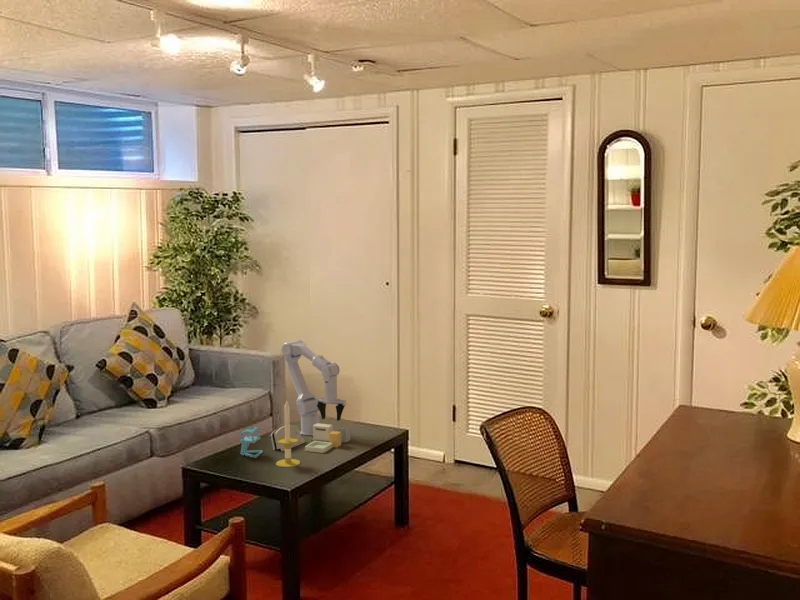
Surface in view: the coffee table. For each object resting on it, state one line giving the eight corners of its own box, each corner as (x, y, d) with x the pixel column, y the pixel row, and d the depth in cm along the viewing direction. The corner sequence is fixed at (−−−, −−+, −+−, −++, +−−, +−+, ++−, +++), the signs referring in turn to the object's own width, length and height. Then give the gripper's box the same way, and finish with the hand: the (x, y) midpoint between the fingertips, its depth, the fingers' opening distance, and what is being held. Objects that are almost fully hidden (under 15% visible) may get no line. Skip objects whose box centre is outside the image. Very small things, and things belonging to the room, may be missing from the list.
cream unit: (317, 437, 362) (317, 422, 362) (335, 439, 359) (334, 424, 358) (311, 441, 357) (310, 425, 356) (329, 443, 354) (328, 427, 353)
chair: (245, 451, 343) (244, 424, 342) (263, 452, 341) (262, 425, 340) (237, 456, 336) (236, 429, 334) (255, 457, 334) (254, 430, 332)
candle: (301, 466, 322) (299, 401, 319) (276, 468, 320) (274, 403, 317) (299, 458, 332) (298, 396, 329) (275, 460, 330) (273, 397, 327)
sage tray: (314, 445, 351) (314, 440, 351) (332, 447, 348) (332, 442, 348) (304, 450, 343) (304, 446, 343) (323, 453, 340) (323, 448, 339)
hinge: (281, 451, 342) (275, 429, 343) (273, 453, 345) (267, 431, 345) (305, 441, 356) (299, 420, 357) (298, 443, 359) (291, 422, 359)
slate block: (341, 439, 360) (341, 426, 359) (349, 440, 359) (349, 427, 358) (338, 441, 356) (337, 428, 356) (346, 442, 355) (345, 429, 354)
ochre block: (333, 444, 353) (332, 431, 352) (341, 445, 351) (341, 431, 351) (329, 446, 349) (328, 433, 349) (337, 447, 348) (337, 434, 347)
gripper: (312, 390, 358) (312, 420, 359) (341, 393, 353) (341, 423, 354) (319, 387, 364) (320, 416, 366) (348, 390, 359) (348, 419, 361)
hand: (331, 419), depth 360 cm, fingers open, 7 cm apart
